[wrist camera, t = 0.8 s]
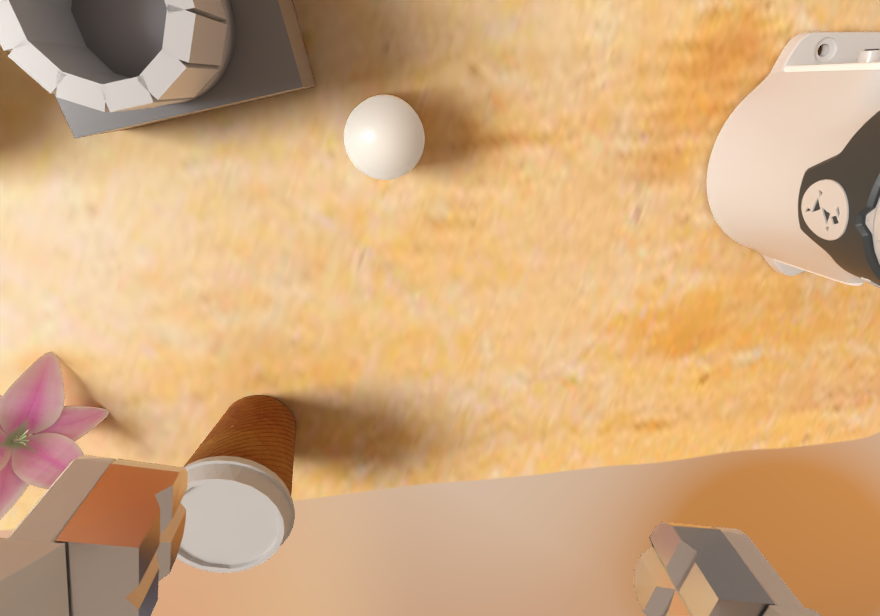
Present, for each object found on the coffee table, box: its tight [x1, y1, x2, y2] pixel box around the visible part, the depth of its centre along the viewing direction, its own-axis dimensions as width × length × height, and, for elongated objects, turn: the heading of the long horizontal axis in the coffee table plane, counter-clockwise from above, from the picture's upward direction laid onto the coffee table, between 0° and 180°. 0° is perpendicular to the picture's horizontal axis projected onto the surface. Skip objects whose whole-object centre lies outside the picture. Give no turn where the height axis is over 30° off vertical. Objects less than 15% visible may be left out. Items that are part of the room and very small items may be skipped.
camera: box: [0, 0, 316, 138], centre depth 29 cm, size 14×10×13 cm
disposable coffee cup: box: [176, 395, 296, 573], centre depth 42 cm, size 10×10×12 cm
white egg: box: [344, 94, 425, 180], centre depth 36 cm, size 5×5×5 cm
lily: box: [0, 352, 109, 519], centre depth 42 cm, size 12×12×10 cm
